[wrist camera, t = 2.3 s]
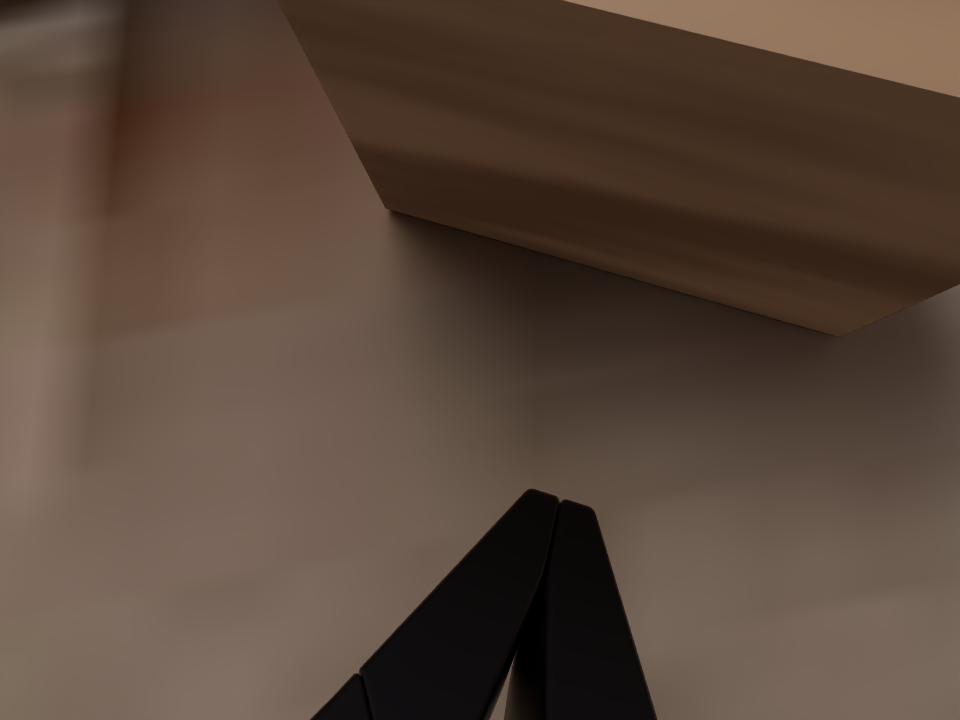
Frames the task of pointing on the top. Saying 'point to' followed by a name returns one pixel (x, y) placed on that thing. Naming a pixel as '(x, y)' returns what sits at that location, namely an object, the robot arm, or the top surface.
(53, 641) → the top surface
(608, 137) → the walnut t block
